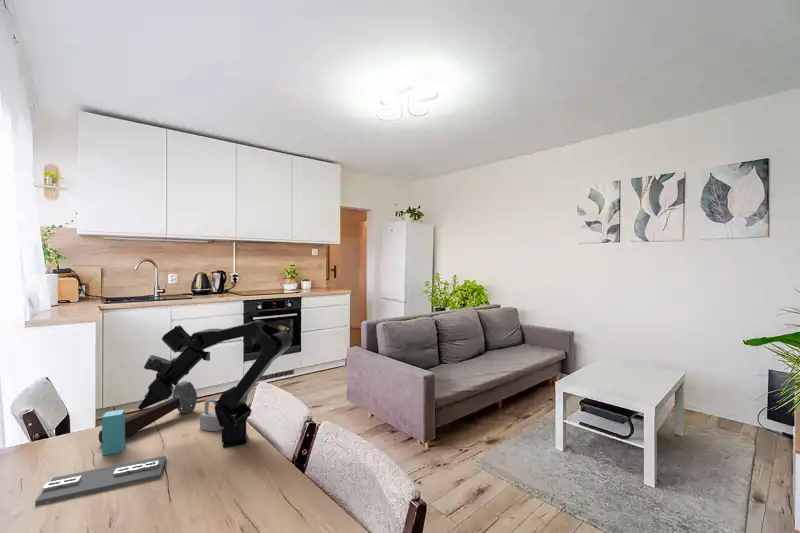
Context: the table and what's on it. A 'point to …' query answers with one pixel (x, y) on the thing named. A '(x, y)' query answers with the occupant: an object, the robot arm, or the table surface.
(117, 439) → the teal block
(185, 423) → the table surface
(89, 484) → the rubber mat
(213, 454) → the table surface
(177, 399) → the hammer
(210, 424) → the padlock
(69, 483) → the steel chain
